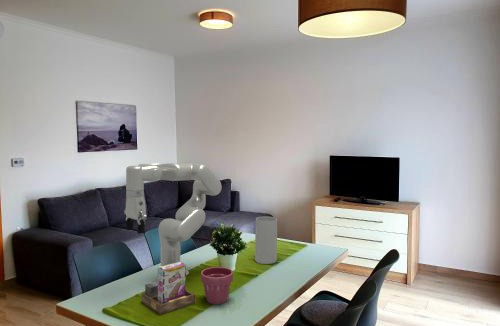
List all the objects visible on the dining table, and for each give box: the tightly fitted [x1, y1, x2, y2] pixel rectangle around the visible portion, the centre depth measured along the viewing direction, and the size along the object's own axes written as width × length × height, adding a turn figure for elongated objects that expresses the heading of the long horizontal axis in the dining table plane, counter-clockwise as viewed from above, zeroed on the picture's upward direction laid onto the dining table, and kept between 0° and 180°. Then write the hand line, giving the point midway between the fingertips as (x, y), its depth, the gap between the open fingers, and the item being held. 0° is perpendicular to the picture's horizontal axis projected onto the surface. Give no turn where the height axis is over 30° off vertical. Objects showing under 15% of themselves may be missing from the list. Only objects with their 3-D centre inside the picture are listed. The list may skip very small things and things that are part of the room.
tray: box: [140, 281, 196, 316], centre depth 170 cm, size 17×16×8 cm
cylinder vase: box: [254, 215, 278, 265], centre depth 227 cm, size 12×12×25 cm
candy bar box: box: [157, 261, 187, 304], centre depth 167 cm, size 11×5×16 cm, turn 134°
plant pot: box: [200, 266, 234, 305], centre depth 174 cm, size 14×14×13 cm
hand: (135, 231), depth 176 cm, fingers open, 9 cm apart
